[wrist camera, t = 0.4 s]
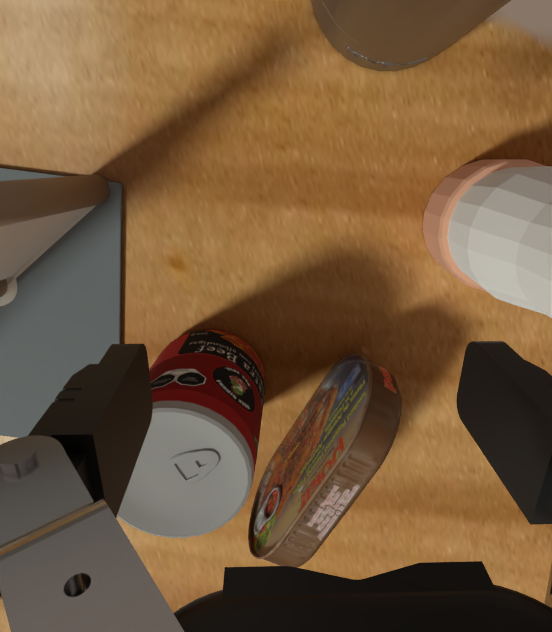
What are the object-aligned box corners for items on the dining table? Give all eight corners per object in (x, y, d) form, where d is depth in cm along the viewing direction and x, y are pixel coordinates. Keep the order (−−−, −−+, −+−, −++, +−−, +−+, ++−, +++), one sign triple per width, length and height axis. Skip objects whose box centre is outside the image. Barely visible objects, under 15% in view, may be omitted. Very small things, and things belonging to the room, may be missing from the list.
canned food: (289, 376, 32) (286, 479, 22) (212, 442, 34) (176, 565, 24) (209, 301, 31) (166, 374, 20) (134, 375, 33) (59, 475, 22)
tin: (353, 333, 31) (373, 392, 23) (392, 354, 31) (425, 420, 24) (249, 489, 36) (236, 584, 28) (284, 506, 36) (281, 604, 28)
